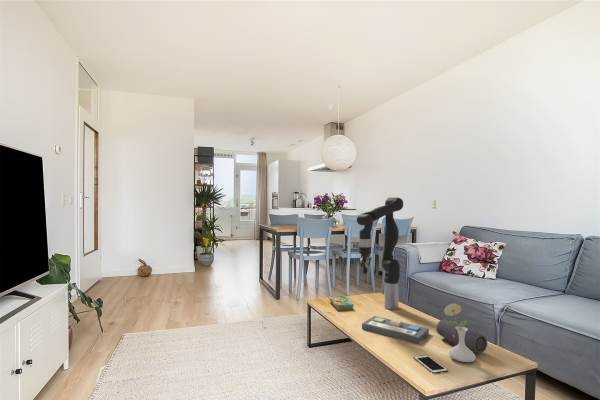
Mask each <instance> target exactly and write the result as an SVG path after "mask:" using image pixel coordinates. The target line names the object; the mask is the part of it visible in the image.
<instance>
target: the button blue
mask: <svg viewBox="0 0 600 400" xmlns="http://www.w3.org/2000/svg"><path fill="white" fill-rule="evenodd" d="M413 325H414V324H412V325H410V326H409V327H408V330H411V331H416V332H418V331H419V330H420V327H417V326H418V325H416V326H413Z"/></svg>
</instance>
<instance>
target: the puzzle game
mask: <svg viewBox="0 0 600 400" xmlns="http://www.w3.org/2000/svg"><path fill="white" fill-rule="evenodd" d="M328 300H329V301H330V303H331V304H332V305H333V306H334V307H335V309H336V310H337V311H345V310H352V309H353V307H354V305H355V304H354V303H353V302H352V301H351V300H349V299H348V298H347V297H346V295H345V296H344V295H341V296H339V295H338V296H329V297H328Z"/></svg>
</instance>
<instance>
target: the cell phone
mask: <svg viewBox="0 0 600 400" xmlns="http://www.w3.org/2000/svg"><path fill="white" fill-rule="evenodd" d="M413 359H414V360H415V361H416V363H418V364H420V365H421V366H422V367H424V368H425V369H426V370H427V371H429V372H430V373H431V372H432V373H431V374H433V373H437V374H442V373H441V372H444V373H448V372H449V370H448V368H447V367H445V366H444V365H443V364H441V363H440V362H438V361H437V360H436V359H435V358H433V357H432V356H430V355H428V354H423V355H415V356H413Z"/></svg>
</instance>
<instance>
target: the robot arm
mask: <svg viewBox="0 0 600 400" xmlns="http://www.w3.org/2000/svg"><path fill="white" fill-rule="evenodd" d="M384 203H385V204H384V205H381V206H378V207H376V208H374V209H371V210H370V211H366V212H363V213H360V214H359V215H358V216H356V217H357V218H356V223H357V224H358V225H360V226H364V227H363V229H360V230H359V232H358V233H359V234H358V235H359V239H358V241H359V242H358V249H359V250H358V252H359V254H360V259H358V263H359V264H360V267H362V268H363V269H362V270H363V271H362V272H363V274H368V267H370V266H371V263H372V261H371V260H372V257H371V256H370V254H372V238H371V237H372V230H373V225H374V221H378V220H379V219H381V218H383V217H384V216H385V220H384V221H385V222H384V223H385V226H384V243H383V244H384V245H383V254H382V260H381V267H382V269H383V271H385V272H387V273H388V274H387V276H386V277H384V278H383V279H384V280H383V282H384V284H383V286H384V288H383V289H384V293H383V294H384V300H383V302H384V308H385V309H387V310H392V311H393V310H394V311H395V310H398V309H399V308H400V307H399V280H400V275H401V266H400V262H399V260H398V259H395V258H393V255H394V254H393V253H394V249H395V247H396V245H397V244H398V242H399V236H400V235H399V234H400V233H399V227H398V226H397V223H396V221H395V218H394V213H395V212H399V211H401V210H403V207H404V201H403V199H402V198H400V197H387V198H386V199H385V202H384Z"/></svg>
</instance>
